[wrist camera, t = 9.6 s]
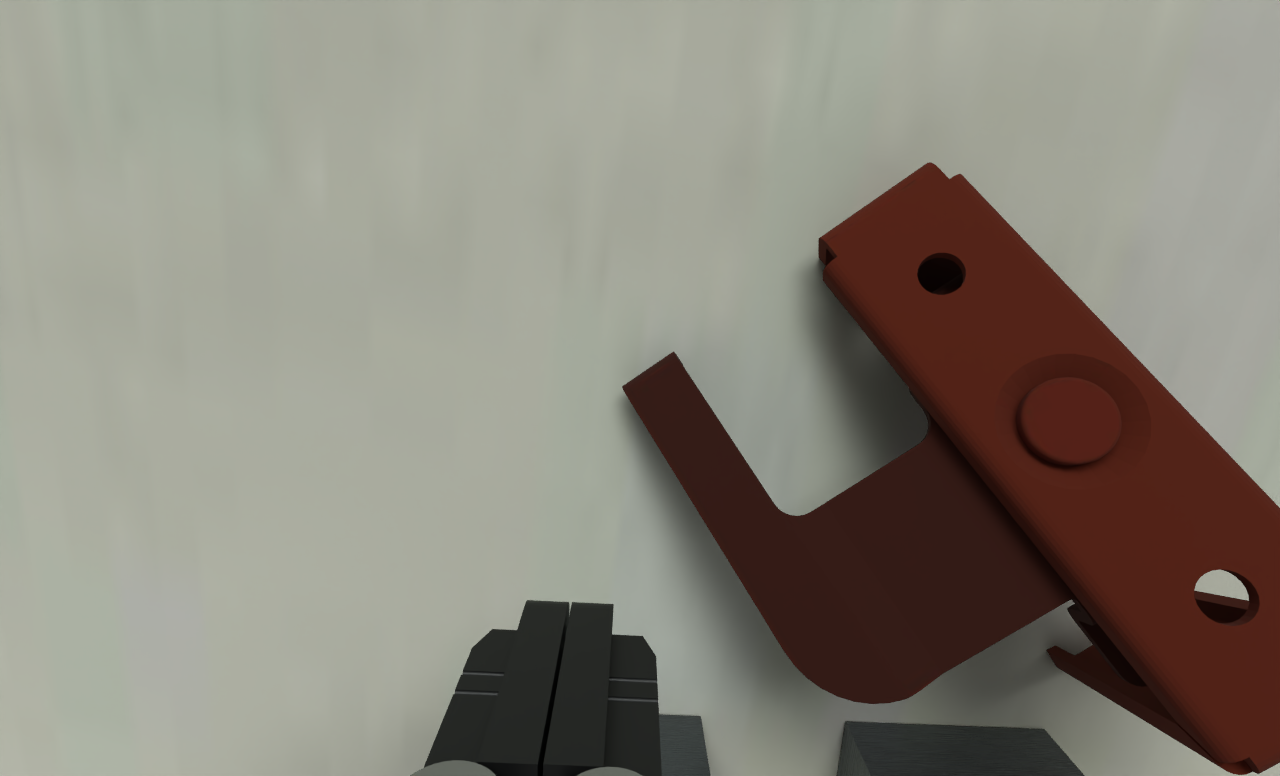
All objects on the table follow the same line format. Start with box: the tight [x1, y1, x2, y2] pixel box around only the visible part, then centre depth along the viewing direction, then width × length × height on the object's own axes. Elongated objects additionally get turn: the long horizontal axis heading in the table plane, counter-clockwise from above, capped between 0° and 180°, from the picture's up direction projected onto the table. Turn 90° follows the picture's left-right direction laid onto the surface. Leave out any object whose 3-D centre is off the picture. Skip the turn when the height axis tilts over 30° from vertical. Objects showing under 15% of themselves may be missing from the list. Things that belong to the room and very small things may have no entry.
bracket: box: [622, 163, 1280, 775], centre depth 19 cm, size 10×14×10 cm
